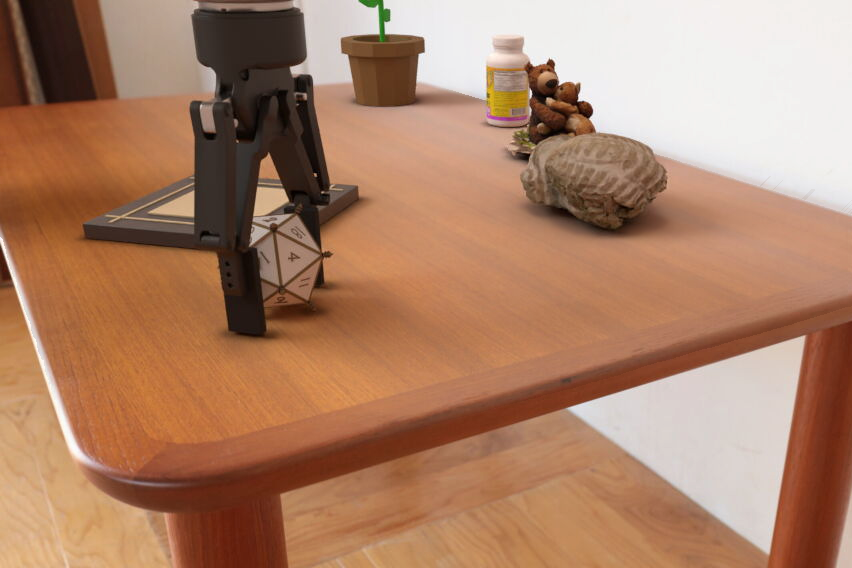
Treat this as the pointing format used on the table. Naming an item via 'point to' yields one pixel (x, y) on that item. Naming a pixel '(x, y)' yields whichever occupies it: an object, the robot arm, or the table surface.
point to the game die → (286, 259)
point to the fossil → (594, 177)
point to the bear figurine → (551, 110)
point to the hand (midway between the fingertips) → (279, 305)
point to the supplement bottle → (507, 83)
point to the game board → (174, 213)
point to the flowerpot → (383, 63)
